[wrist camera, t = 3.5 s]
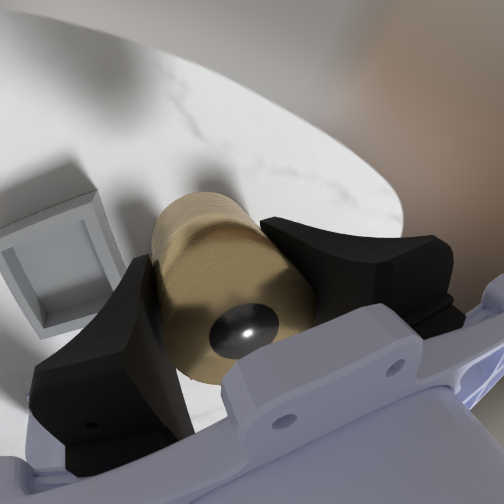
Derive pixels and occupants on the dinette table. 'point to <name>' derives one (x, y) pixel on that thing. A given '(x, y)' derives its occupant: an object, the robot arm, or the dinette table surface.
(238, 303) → the pepper mill
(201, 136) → the dinette table surface
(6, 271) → the socket
